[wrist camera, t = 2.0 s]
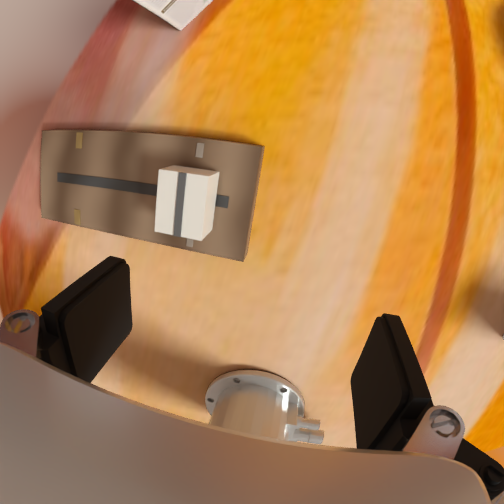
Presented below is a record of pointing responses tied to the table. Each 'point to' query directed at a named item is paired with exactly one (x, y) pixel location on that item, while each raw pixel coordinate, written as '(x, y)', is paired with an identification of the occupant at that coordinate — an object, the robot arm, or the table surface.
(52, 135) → the fader board
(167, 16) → the syrup box
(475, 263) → the table surface
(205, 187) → the fader knob
